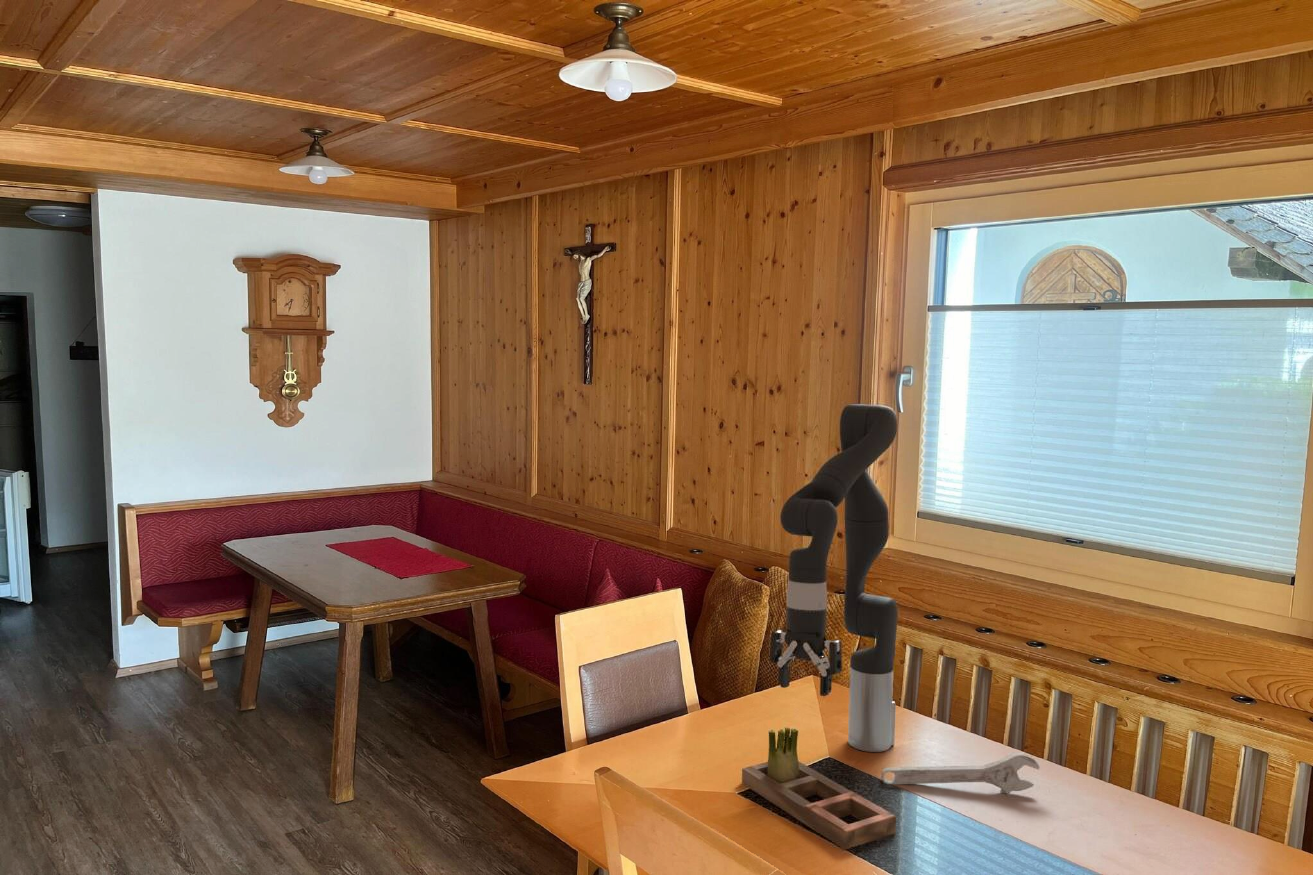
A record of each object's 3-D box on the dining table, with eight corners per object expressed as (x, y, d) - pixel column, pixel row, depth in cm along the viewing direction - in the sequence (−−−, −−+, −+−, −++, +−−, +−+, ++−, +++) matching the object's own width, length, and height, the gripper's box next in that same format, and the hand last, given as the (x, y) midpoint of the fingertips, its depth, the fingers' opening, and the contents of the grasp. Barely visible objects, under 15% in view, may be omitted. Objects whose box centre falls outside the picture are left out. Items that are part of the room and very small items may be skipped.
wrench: (883, 793, 191) (1040, 791, 185) (883, 798, 189) (1041, 795, 184) (879, 755, 191) (1036, 751, 185) (879, 758, 189) (1038, 755, 183)
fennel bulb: (765, 790, 186) (767, 730, 185) (771, 779, 190) (772, 721, 189) (795, 795, 184) (796, 734, 183) (800, 784, 188) (801, 725, 187)
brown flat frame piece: (789, 770, 195) (789, 754, 194) (895, 833, 169) (896, 815, 169) (741, 782, 189) (742, 766, 188) (844, 850, 163) (845, 831, 163)
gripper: (850, 607, 177) (847, 694, 176) (784, 597, 186) (782, 680, 185) (830, 612, 171) (827, 702, 171) (763, 602, 180) (761, 687, 180)
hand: (804, 691), depth 178 cm, fingers open, 8 cm apart
